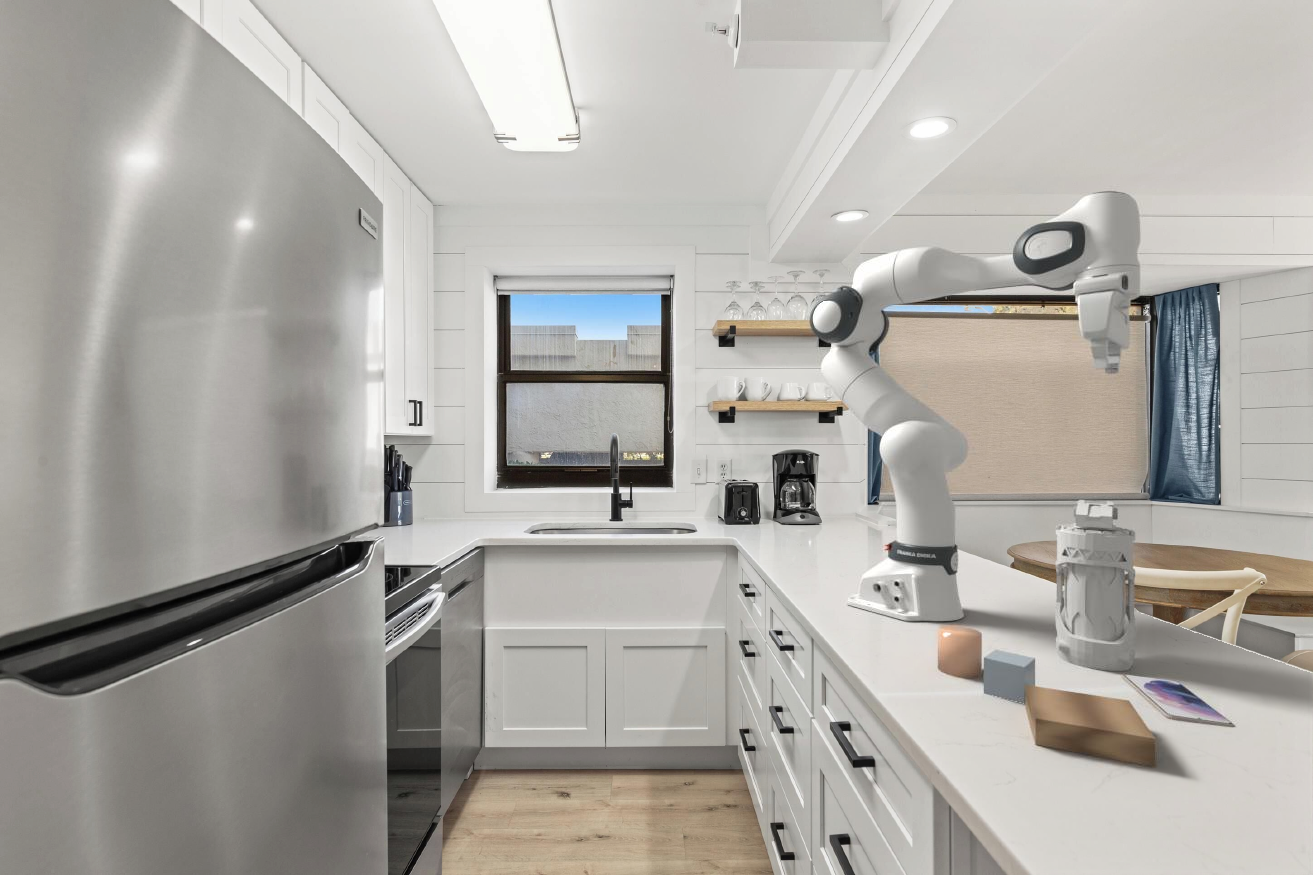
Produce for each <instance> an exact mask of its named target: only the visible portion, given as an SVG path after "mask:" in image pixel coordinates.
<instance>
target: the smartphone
mask: <svg viewBox="0 0 1313 875" xmlns="http://www.w3.org/2000/svg"><path fill="white" fill-rule="evenodd" d="M1121 678H1122V679H1123V680H1124V681H1125V682H1126V683H1127V684H1128V685H1129V686H1130V687H1131V688H1132V689H1134V690H1135V691H1136V692H1137V693H1138V694H1139V695H1140V696H1141V697H1143V699H1145V700H1146V701H1147V702H1148V703H1149V704H1150V705H1151V706H1152V707H1153V708H1154V709H1155V710H1156V711H1157V712H1159V714H1161V716H1163V717H1165V718H1166V719H1168V720H1171V719H1172V720H1171V721H1177V722H1178V721H1180V722H1186V723H1193V724H1194V723H1196V724H1202V725H1203V724H1204V725H1211V726H1218V727H1227V728H1233V727H1234V723H1233V722H1231V720H1229V719H1228V718H1226V717H1225V716H1224V715H1222V714H1221V713H1220V712H1218V710H1216V709H1214V708H1213V707H1212V706H1211V705H1210V704H1208V703H1207V702H1205V701H1204V700H1203V699H1201V698H1200V697H1199V696H1197V695H1196V694H1195V693H1194V692H1192V691H1191V690H1189V689H1188V688H1187V687H1186V686H1184V685H1183V684H1182V683H1180V681H1176V680H1171V679H1163V678H1156V677H1149V676H1143V675H1142V676H1141V675H1132V674H1123V675H1122V676H1121Z"/></svg>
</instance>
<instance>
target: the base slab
mask: <svg viewBox="0 0 1313 875" xmlns="http://www.w3.org/2000/svg"><path fill="white" fill-rule="evenodd" d="M1024 706H1025V712H1026V714H1027V715H1026V716H1027V720H1028V722H1029V725H1030V729H1031V733H1032V738H1033V739H1034V744H1035V745H1036V746H1041V747H1047V748H1053V749H1057V748H1058V749H1057V750H1063V751H1066V752H1067V751H1068V752H1073V753H1079V754H1085V755H1090V756H1095V757H1100V758H1106V759H1112V760H1117V761H1122V762H1128V763H1131V764H1132V763H1133V764H1137V765H1143V766H1149V767H1153V768H1155V767H1156V737H1155V736H1154V734H1153V733H1152V732H1151V731H1150V729H1149V727H1148V726H1147V724H1146V723H1145V722H1144V720H1143V718H1142V717H1141V715H1140V714H1139V712H1138V711H1137V710H1136V709H1135V707H1134V705H1133V704H1132V702H1131V701H1130V700H1129V699H1121V698H1113V697H1109V696H1101V695H1096V694H1095V695H1094V694H1088V693H1082V692H1075V691H1068V690H1062V689H1055V688H1049V687H1041V686H1036V685H1035V686H1030V685H1025V704H1024Z"/></svg>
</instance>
